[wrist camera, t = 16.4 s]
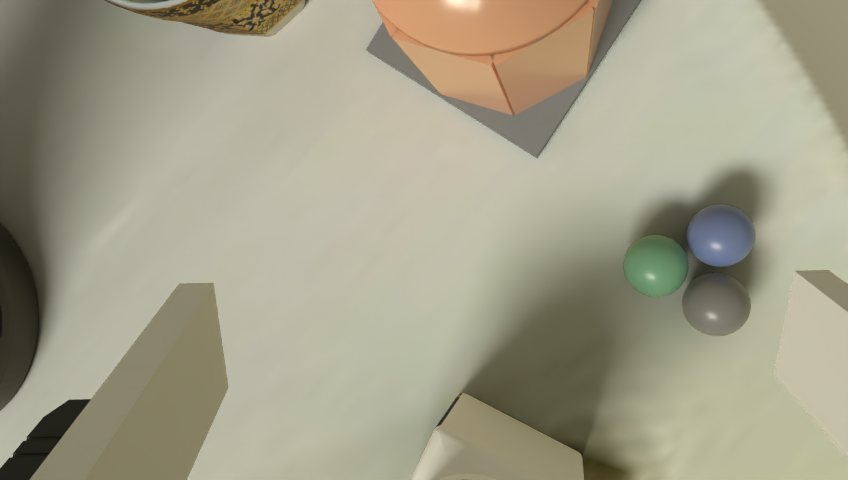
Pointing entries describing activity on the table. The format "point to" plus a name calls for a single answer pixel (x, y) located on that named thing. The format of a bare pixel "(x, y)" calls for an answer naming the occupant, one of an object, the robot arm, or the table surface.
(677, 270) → the bottle-green marble
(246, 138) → the table surface
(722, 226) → the navy marble
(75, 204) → the table surface
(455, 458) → the medicine bottle
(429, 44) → the peach domed post
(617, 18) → the slate mat
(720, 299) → the charcoal marble
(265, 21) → the ceramic cup
